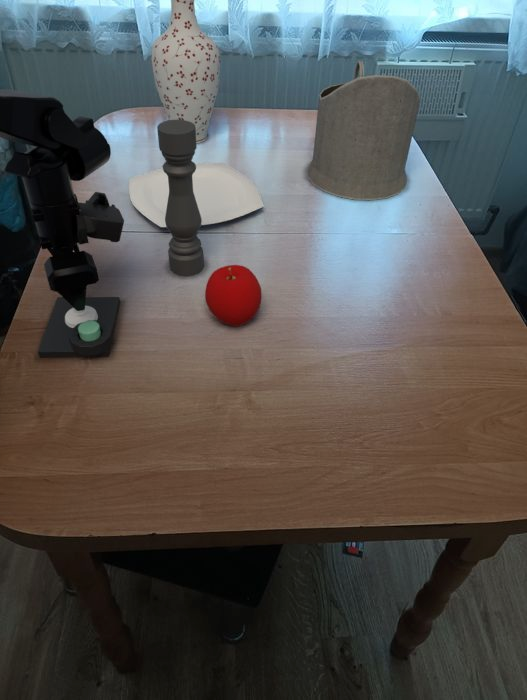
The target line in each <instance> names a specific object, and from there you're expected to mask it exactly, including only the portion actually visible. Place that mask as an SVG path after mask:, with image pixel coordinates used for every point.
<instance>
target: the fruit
mask: <svg viewBox="0 0 527 700" xmlns="http://www.w3.org/2000/svg"><path fill="white" fill-rule="evenodd" d="M262 297H263V296H262V287H261V284H260V281H259V280H258V278H257V277H256V275H255V274H254V273H253V271H251V270H250V268H248V267H246V266H244V265H240V264H231V265H230V264H229V265H224V266H222V267H221V266H220V267H219V268H217V269H215V270H214V271H213V272H212V273H211V274H210V276H209V277H208V280H207V283H206V285H205V292H204V298H205V304H206V306H207V308H208V310H209V311H210V312H211V314H212V315H213V317H215V318H216V319H217V320H218V321H220V322H221V323H223V324H226V325H228V326H233V327H236V326H237V327H238V326H242V325H245V324H246V323H248V322H249V321H251V320H253V318H254V317H255V316H256V315H257V313H258V312H259V310H260V307H261V304H262Z"/></svg>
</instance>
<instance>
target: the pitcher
mask: <svg viewBox="0 0 527 700" xmlns="http://www.w3.org/2000/svg"><path fill="white" fill-rule="evenodd" d="M420 104H421V97H420V95H419V92H418V90H417V88H416V87H415V86H414V85H413V84H412V83H411V82H410V81H409V80H408V79H406V78H402V77H399V76H394V75H379V74H375V75H374V74H373V75H367V76H365V65H364V61H363V60H358V61H357V62H356V65H355V69H354V74H353V79H352V80H351V81H348V82H346V83H339V84H335V85H330V86H327V87H326V88H324V89H322V91H320V93H319V95H318V104H317V115H316V125H315V132H314V133H315V134H314V144H313V152H312V160H311V162H310V164H309V165H308V167H307V170H306V174H307V175H306V176H307V179H308V180H309V181H310V183H312V185H313V186H314V187H316V188H318V189H319V190H321V191H323V192H324V193H328V194H330V195H333V196H335V197H338V198H343V199H350V200H354V201H355V200H357V201H376V200H383V199H388V198H391V197H394V196H397V195H399V194H400V193H401V192H403V191H404V190H405V189H406V187H407V184H408V178H407V173H406V166H407V161H408V157H409V152H410V148H411V144H412V139H413V136H414V135H413V134H414V131H415V130H414V129H415V125H416V123H417V122H416V121H417V116H418V112H419V109H420Z"/></svg>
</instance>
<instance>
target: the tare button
mask: <svg viewBox="0 0 527 700" xmlns="http://www.w3.org/2000/svg"><path fill="white" fill-rule="evenodd" d="M78 331H79V335H80V338H81V339H82V340H83V341H93V340H96V339H98V338H99V337H100V335H101V331H100V326H99V324H98V323H97V322H95V321H85V322H83V323H81V324H80V325H79V327H78Z"/></svg>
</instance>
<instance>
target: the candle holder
mask: <svg viewBox="0 0 527 700" xmlns="http://www.w3.org/2000/svg"><path fill="white" fill-rule="evenodd" d="M156 130H157V139H158V149H159V151H160V152H161V155H162V157H163V158H164V160H165V162H164V163H163V164H162V168H163V171H164V172H165V173H166V174H167V176H168V183H169V196H168V202H167V209H166V215H165V223H166V226H167V228H166V229H167V231H168V232H169V233H170V235H171V238H170V240H169V242H168V247H169V248H168V250H167V254H168V255H167V257H168V262H169V263H168V264H169V269H170V271H171V273H172V274H174V275H177V276H179V277H192V276H193V277H194V276H196V275H199V274H200V273H201V272H203V270H204V268H205V257H204V256H205V255H204V249H203V247H202V245H203V244H202V241H201V238H199V237H198V232H199V230H200V228H201V227H202V226H201V223H202V219H201V215H200V212H199V209H198V206H197V202H196V199H195V196H194V192H193V180H192V175H193V173H194V172H195V170H196V165H195V163H196V162H194V161H193V159H194V156H195V154H196V150H197V148H198V147H197V144H196V127H195V125H194V124H193V123H191V122H189V121H185V120H168V119H167V120H165V121H162V122H160V123H158V125H157V126H156Z"/></svg>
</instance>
